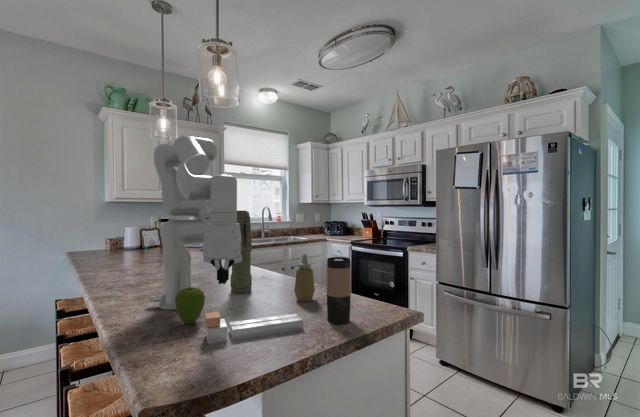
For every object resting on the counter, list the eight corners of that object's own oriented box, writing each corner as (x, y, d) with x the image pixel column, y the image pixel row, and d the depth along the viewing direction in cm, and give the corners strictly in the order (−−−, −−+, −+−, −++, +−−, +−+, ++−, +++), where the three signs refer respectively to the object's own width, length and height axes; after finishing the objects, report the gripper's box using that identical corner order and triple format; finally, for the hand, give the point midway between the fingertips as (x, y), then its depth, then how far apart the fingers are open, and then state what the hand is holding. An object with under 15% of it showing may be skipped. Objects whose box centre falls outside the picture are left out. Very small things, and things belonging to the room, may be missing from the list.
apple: (175, 330, 94) (175, 291, 94) (174, 321, 102) (174, 285, 102) (206, 325, 98) (206, 288, 98) (202, 317, 106) (203, 282, 106)
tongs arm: (230, 335, 91) (230, 325, 91) (229, 331, 93) (229, 322, 93) (299, 325, 98) (299, 316, 98) (296, 322, 101) (296, 313, 101)
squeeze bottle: (312, 303, 121) (312, 256, 121) (291, 302, 122) (292, 255, 122) (316, 297, 129) (316, 253, 129) (297, 296, 130) (297, 252, 130)
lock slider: (206, 327, 85) (206, 318, 85) (205, 321, 90) (205, 313, 90) (220, 325, 87) (220, 317, 87) (218, 320, 91) (218, 311, 91)
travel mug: (352, 318, 105) (353, 257, 105) (347, 326, 98) (347, 261, 98) (330, 315, 107) (330, 256, 107) (323, 323, 100) (323, 259, 100)
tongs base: (207, 344, 85) (207, 329, 85) (206, 334, 91) (206, 320, 91) (303, 329, 95) (303, 316, 95) (295, 321, 101) (295, 309, 101)
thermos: (241, 296, 130) (242, 210, 130) (224, 291, 138) (224, 210, 138) (258, 291, 137) (258, 210, 137) (240, 287, 145) (240, 210, 145)
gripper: (191, 219, 87) (191, 286, 87) (247, 219, 87) (246, 286, 87) (200, 218, 94) (200, 279, 94) (251, 218, 95) (251, 279, 95)
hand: (222, 282), depth 91 cm, fingers closed
